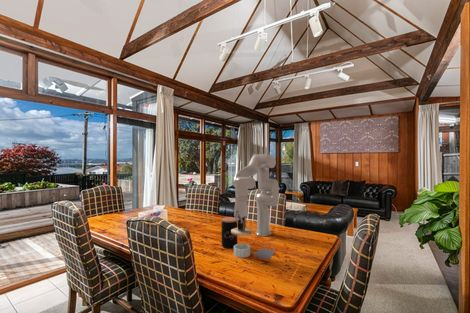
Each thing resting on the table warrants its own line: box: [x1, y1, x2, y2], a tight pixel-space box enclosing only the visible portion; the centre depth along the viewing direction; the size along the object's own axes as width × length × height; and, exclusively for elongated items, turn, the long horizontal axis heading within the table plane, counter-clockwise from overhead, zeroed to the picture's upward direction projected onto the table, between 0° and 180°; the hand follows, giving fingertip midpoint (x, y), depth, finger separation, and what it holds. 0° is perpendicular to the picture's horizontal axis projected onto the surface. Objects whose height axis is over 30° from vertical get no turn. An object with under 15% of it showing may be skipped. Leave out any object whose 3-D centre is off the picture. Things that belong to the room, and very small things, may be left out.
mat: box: [252, 247, 277, 260], centre depth 139 cm, size 14×10×1 cm
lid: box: [231, 220, 253, 237], centre depth 138 cm, size 13×13×7 cm
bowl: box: [233, 243, 251, 258], centre depth 138 cm, size 10×10×5 cm
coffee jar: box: [221, 216, 238, 249], centre depth 153 cm, size 11×11×18 cm
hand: (241, 228), depth 138 cm, fingers closed on lid, 3 cm apart
